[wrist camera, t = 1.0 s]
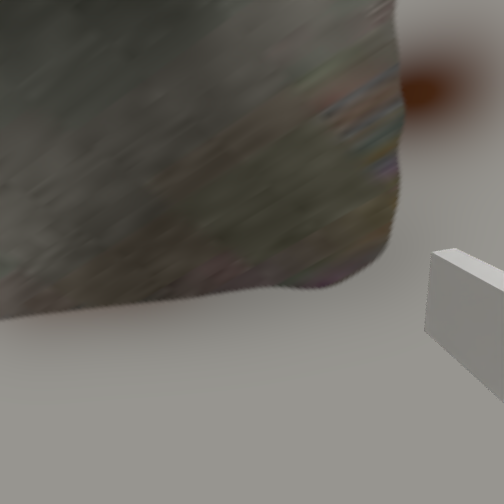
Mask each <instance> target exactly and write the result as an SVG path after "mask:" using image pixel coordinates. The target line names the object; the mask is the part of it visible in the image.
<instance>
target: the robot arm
mask: <svg viewBox="0 0 504 504" xmlns="http://www.w3.org/2000/svg"><path fill="white" fill-rule="evenodd" d="M424 331H425V332H426V333H427V334H428V335H429V336H430V337H432V338H433V339H434V340H435V341H436V342H437V343H438V344H439V345H440V346H441V347H443V348H444V349H445V350H446V351H447V352H448V353H449V354H450V355H451V356H452V357H454V358H455V359H456V360H457V361H458V362H459V363H460V364H461V365H462V366H463V367H465V368H466V369H467V370H468V371H469V372H470V373H471V374H472V375H473V376H474V377H476V378H477V379H478V380H479V381H480V382H481V383H482V384H483V385H484V386H485V387H486V388H488V389H489V390H490V391H491V392H492V393H493V394H494V395H495V396H496V397H497V398H499V399H500V400H501V401H502V402H503V403H504V271H502V270H500V269H498V268H496V267H494V266H492V265H489V264H487V263H485V262H483V261H481V260H479V259H477V258H474V257H473V256H471V255H469V254H466V253H464V252H462V251H460V250H458V249H456V248H453V249H447V250H441V251H434V252H432V253H431V262H430V272H429V283H428V294H427V305H426V316H425V328H424Z"/></svg>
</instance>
